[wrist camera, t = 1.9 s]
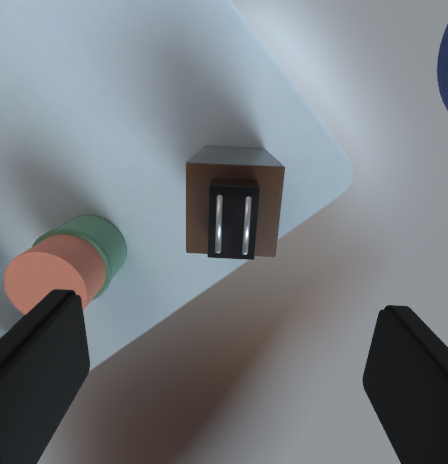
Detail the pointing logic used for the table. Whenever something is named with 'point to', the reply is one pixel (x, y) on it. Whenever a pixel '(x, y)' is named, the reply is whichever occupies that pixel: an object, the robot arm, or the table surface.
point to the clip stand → (233, 167)
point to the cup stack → (67, 262)
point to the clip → (233, 218)
